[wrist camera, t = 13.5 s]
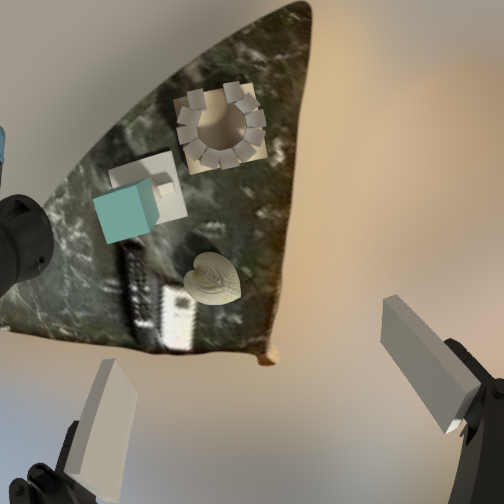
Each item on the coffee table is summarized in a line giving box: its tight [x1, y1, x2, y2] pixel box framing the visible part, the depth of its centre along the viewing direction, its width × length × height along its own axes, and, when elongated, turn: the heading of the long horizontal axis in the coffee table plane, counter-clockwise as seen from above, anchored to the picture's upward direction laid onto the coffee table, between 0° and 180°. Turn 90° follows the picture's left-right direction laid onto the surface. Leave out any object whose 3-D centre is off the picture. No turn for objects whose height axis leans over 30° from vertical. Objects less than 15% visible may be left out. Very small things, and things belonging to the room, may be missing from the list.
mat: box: [108, 151, 188, 225], centre depth 41 cm, size 10×10×1 cm
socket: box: [173, 81, 267, 175], centre depth 36 cm, size 11×11×6 cm
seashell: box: [184, 252, 241, 305], centre depth 45 cm, size 8×8×8 cm
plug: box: [93, 177, 176, 244], centre depth 34 cm, size 7×5×13 cm
